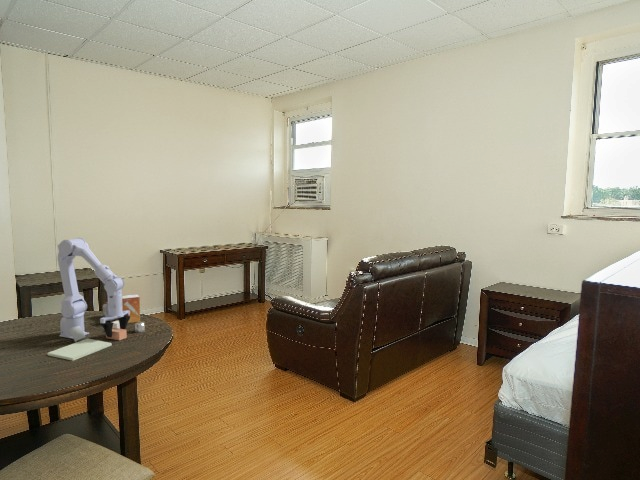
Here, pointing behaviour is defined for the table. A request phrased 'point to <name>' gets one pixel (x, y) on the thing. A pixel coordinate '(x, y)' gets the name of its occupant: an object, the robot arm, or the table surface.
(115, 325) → the off-white cube
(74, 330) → the grey-blue slab
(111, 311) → the robot arm
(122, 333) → the terracotta brick
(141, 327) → the light grey cylinder
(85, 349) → the board
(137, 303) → the small box
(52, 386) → the table surface
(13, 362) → the table surface
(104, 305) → the tin
